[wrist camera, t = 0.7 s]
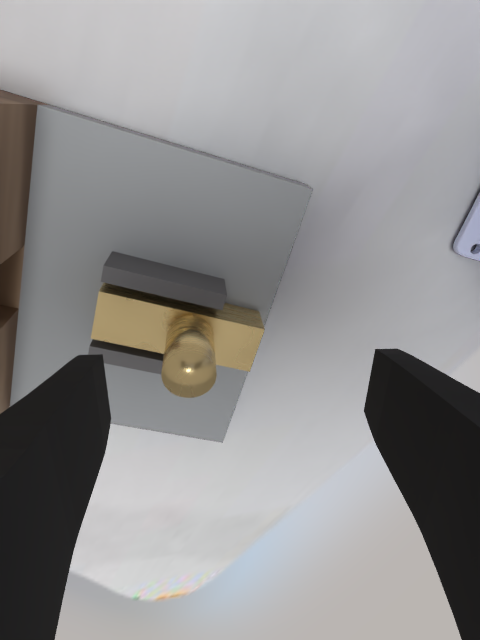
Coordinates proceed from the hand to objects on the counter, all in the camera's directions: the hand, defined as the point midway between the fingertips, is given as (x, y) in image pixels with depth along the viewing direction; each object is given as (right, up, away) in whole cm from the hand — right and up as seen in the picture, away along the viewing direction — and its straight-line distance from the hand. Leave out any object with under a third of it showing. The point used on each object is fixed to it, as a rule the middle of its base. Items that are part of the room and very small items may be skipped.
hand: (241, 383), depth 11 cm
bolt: (-3, +2, +8) cm, 9 cm away
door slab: (-4, +3, +10) cm, 11 cm away
